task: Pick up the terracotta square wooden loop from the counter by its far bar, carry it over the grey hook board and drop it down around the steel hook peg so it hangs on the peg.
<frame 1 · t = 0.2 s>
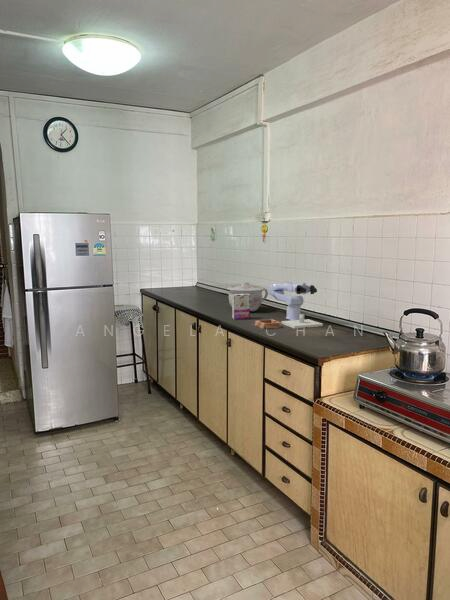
hand: (310, 290, 280), 22 cm above the counter, tool horizontal, fingers open, 7 cm apart
loop: (268, 326, 278), on the counter
hook board: (301, 324, 284), on the counter
candy bar box: (240, 318, 303), on the counter
chamber pot: (245, 311, 333), on the counter
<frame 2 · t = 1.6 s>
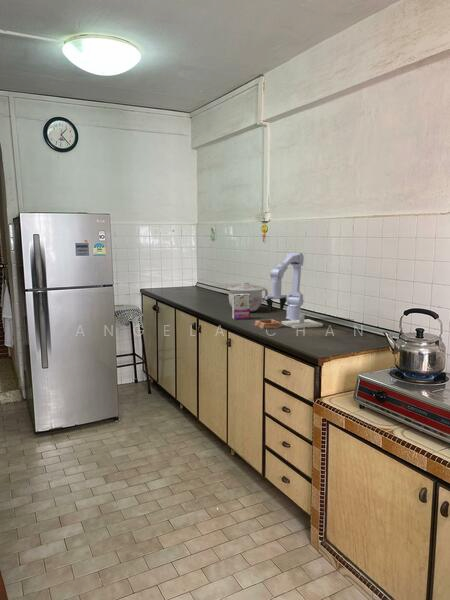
hand: (275, 310, 279), 9 cm above the counter, tool pointing down, fingers open, 7 cm apart
nothing on the counter moved.
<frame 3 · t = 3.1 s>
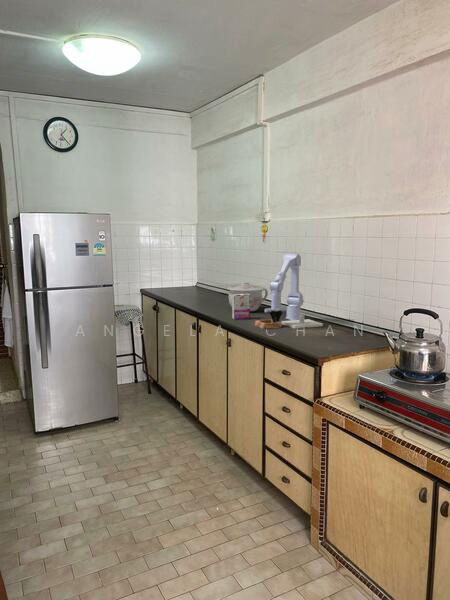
hand: (275, 323, 280), 2 cm above the counter, tool pointing down, fingers closed on loop, 2 cm apart
loop: (268, 326, 278), on the counter, touching gripper
everything else where it was.
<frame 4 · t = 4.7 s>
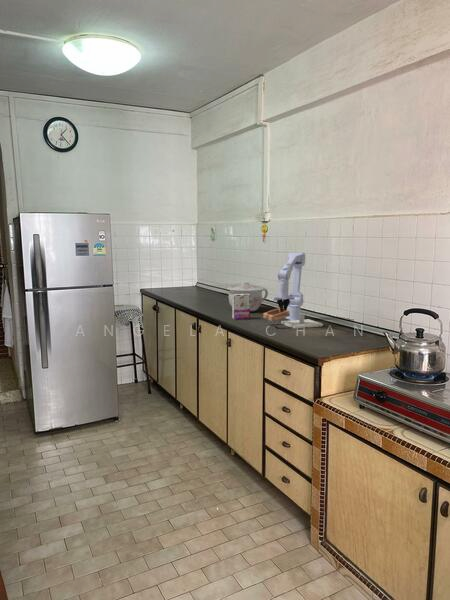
hand: (283, 311, 280), 9 cm above the counter, tool pointing down, fingers closed on loop
loop: (276, 316, 279), point 6 cm above the counter, tilted 14°, touching gripper
everything else where it was.
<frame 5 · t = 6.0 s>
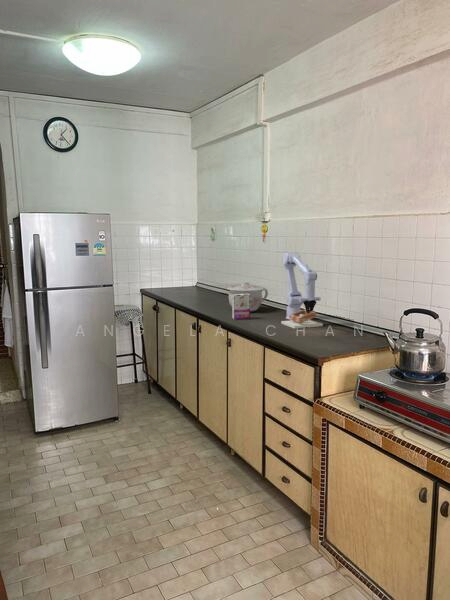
hand: (309, 312, 284), 7 cm above the counter, tool pointing down, fingers closed on loop
loop: (303, 318, 283), point 4 cm above the counter, tilted 16°, touching gripper
everything else where it was.
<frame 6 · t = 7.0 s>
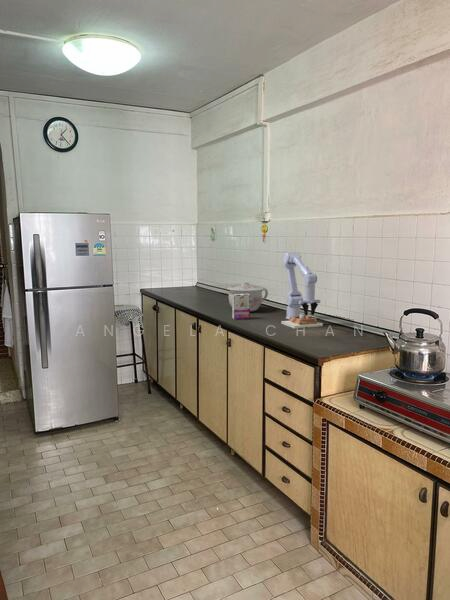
hand: (309, 314, 285), 6 cm above the counter, tool pointing down, fingers open, 4 cm apart
loop: (303, 322, 284), point 1 cm above the counter, touching hook board
everything else where it was.
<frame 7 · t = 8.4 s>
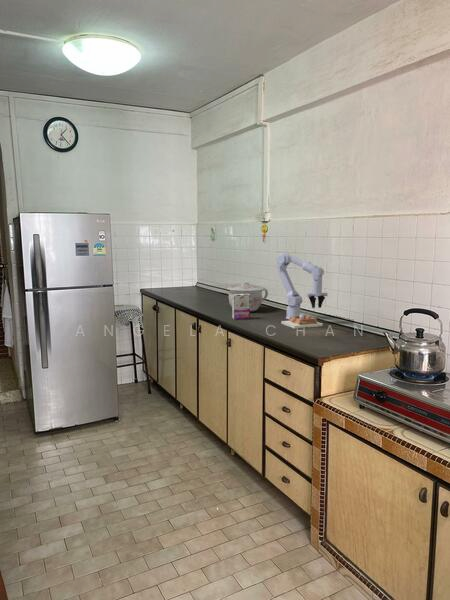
hand: (316, 307, 291), 9 cm above the counter, tool pointing down, fingers open, 4 cm apart
nothing on the counter moved.
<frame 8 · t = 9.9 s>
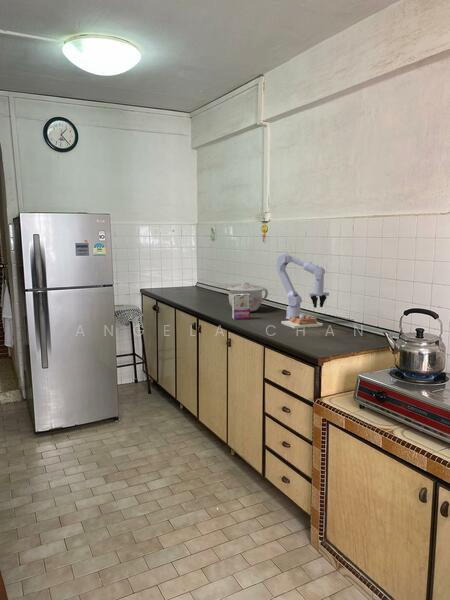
hand: (318, 307, 292), 9 cm above the counter, tool pointing down, fingers open, 4 cm apart
nothing on the counter moved.
at the end: loop 0.9 cm from the hook board (horizontally); loop point 1.5 cm above the counter; the gripper is holding nothing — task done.
